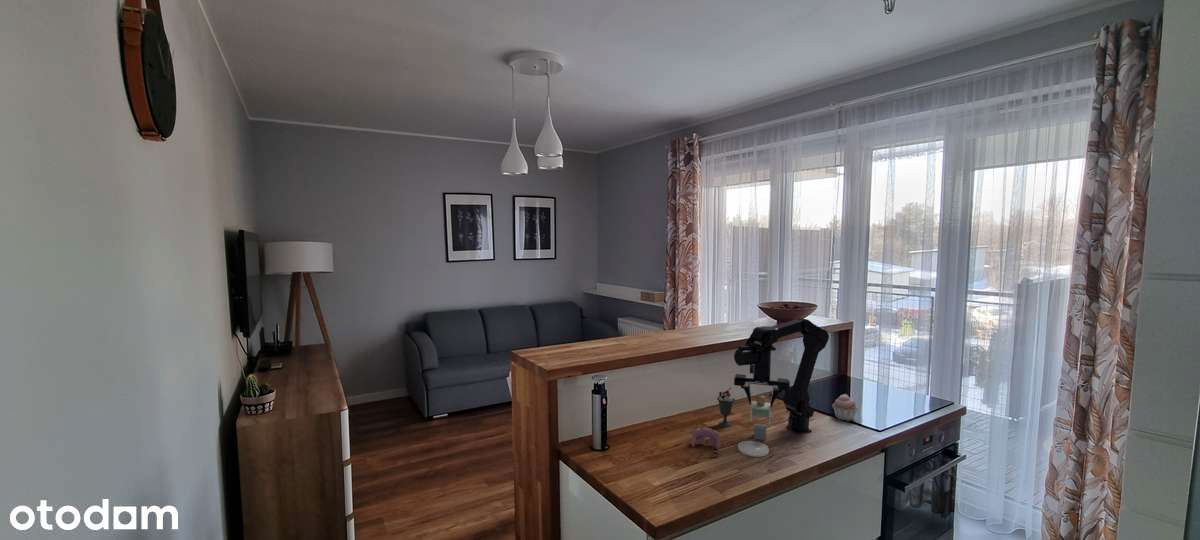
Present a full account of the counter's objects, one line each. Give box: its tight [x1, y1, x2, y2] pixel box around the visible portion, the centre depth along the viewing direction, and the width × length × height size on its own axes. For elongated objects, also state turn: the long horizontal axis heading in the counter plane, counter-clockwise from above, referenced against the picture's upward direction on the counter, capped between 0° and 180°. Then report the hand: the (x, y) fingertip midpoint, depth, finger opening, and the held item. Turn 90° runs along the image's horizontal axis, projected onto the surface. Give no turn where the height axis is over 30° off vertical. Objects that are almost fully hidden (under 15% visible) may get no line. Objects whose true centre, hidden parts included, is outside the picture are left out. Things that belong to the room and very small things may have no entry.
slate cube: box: [753, 423, 767, 441], centre depth 170 cm, size 4×4×4 cm
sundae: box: [716, 387, 736, 428], centre depth 181 cm, size 7×7×15 cm
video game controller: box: [691, 427, 722, 451], centre depth 163 cm, size 10×5×7 cm, turn 71°
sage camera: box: [749, 395, 772, 425], centre depth 170 cm, size 7×7×8 cm
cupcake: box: [831, 393, 859, 422], centre depth 188 cm, size 9×9×10 cm
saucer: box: [737, 440, 770, 458], centre depth 160 cm, size 10×10×1 cm
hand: (760, 405), depth 170 cm, fingers closed on sage camera, 7 cm apart
